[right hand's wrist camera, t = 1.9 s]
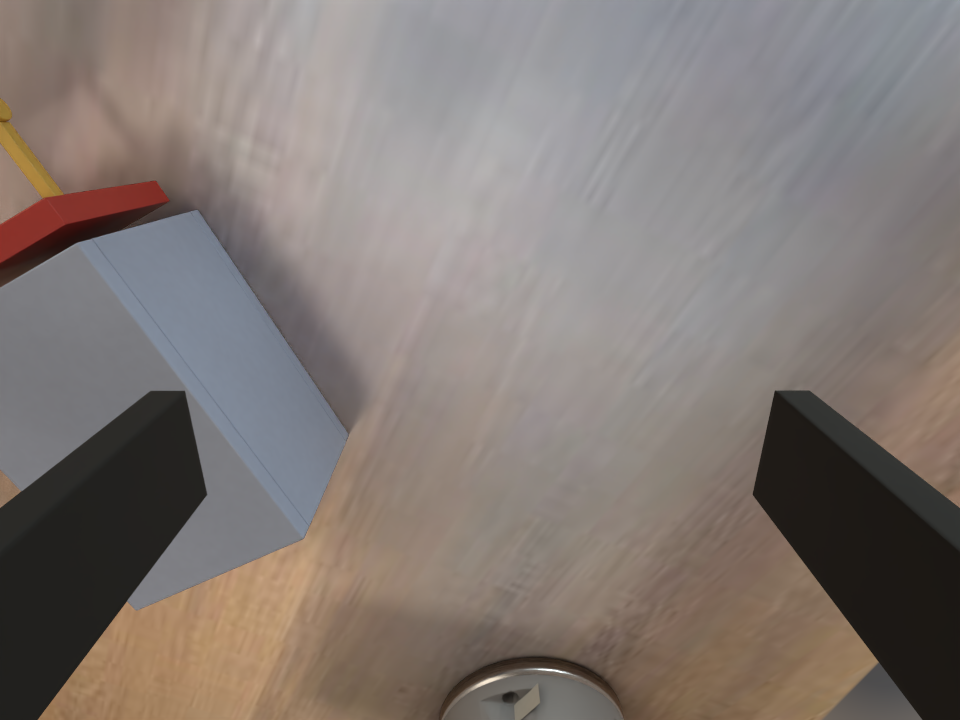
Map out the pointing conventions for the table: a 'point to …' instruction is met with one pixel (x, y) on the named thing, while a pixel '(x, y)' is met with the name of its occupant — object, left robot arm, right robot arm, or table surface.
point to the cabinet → (168, 386)
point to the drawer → (62, 211)
